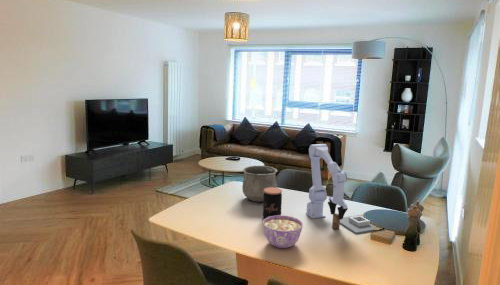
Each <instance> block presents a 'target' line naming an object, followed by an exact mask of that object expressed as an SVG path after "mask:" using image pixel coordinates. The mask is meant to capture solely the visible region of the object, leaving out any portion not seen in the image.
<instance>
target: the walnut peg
mask: <svg viewBox="0 0 500 285" xmlns="http://www.w3.org/2000/svg"><path fill="white" fill-rule="evenodd" d="M340 225H341V224H340V219H339V213H335V214H332V223H331V228H332V229H333V230H336V231H338V230H340V227H341V226H340Z"/></svg>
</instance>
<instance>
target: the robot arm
mask: <svg viewBox="0 0 500 285" xmlns="http://www.w3.org/2000/svg"><path fill="white" fill-rule="evenodd" d="M308 155H309V156H308V157H309V158H310V166H311V167H310V168H311V177H312V186H311V187H310V188H309V189H308V191H309V192H308V200H310V201H309V202H307V204H306V213H305V214H306V216H308V217H310V218H311V219H316V218H317V219H319V218H325V217H326V215H325V214H324V213H323V212H324V202H326V200H327V198H328V202H327V204H328V207H329V212H330V215H332V216H333V214H336V208H337V211H338V213H337V214H339V219H343V217H345V213H346V212H347V211H348V209H349V208H348V204H346V203H345V200H344V196H345V195H344V193H345V183H346V182H347V181H348V175H347V173H346V171H343V170H341V168H340V166H339V165H338V163H337V162H336V161H333V159H332V157H331V154H330V153H329V147H328V144H326V143H319V144H318V143H317V144H310V145H309V148H308ZM321 159H323V160H324V162H325V163H326V165H327V166H326V168H327V170H328V171H329V173H330V175H331V180H332V186H333V190H332V191H333V192H332V193H333V194H332V196H329V197H328V194H327V191H326V188H325V186H323V184H322V175H321V162H320V160H321ZM337 205H338V207H337Z"/></svg>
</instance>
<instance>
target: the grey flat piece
mask: <svg viewBox="0 0 500 285" xmlns="http://www.w3.org/2000/svg"><path fill="white" fill-rule="evenodd" d="M363 216H364V214H358V215H351V216H344V217H343V219H340V225H341V226H342V227H344V228H346V229H347V230H349V231H350V232H352V233H354V234H355V235H359V234H365V233H371V232H374V231H373V230H374V228H375V227H376V226H374V225H372V224H370V220H371V219H370V220H368V219H366V218H364V217H363Z"/></svg>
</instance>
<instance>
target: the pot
mask: <svg viewBox="0 0 500 285" xmlns="http://www.w3.org/2000/svg"><path fill="white" fill-rule="evenodd" d="M242 172H243V179H242V186H241V187H242V189H241V190H242V192H243V195H244V197H245V198H247V199H249V200H250V201H253V202H259V203H263V200H264V193H265V192H264V189H265V188H270V187H274V188H278V187H277V181H276V177H277V176H276V174H277V173H278V172H279V171H278V170H277V168H274V167H273V166H268V165H249V166H245V167H244V168H243V169H242Z"/></svg>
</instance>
